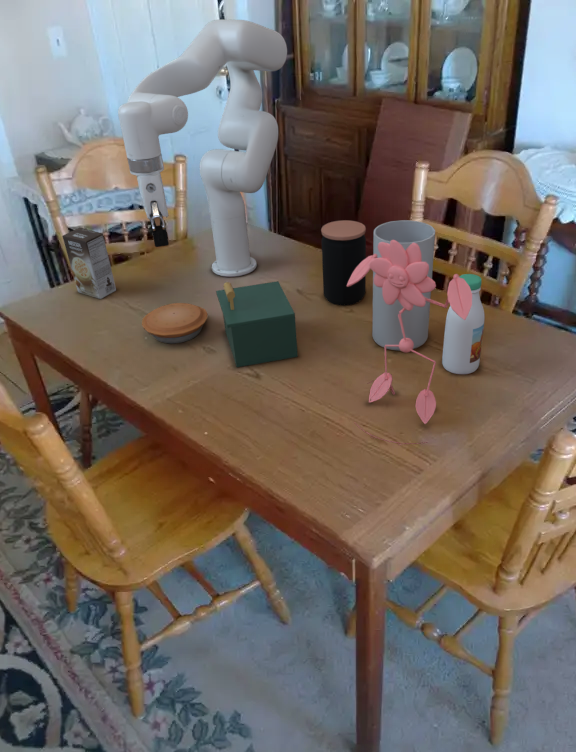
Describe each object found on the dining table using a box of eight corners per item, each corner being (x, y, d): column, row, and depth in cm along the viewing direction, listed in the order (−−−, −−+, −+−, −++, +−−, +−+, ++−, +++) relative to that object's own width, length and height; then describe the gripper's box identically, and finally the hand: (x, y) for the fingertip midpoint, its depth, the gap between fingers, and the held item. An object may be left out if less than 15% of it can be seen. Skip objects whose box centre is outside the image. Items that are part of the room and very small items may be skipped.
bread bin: (236, 367, 144) (231, 327, 138) (225, 331, 157) (219, 293, 151) (297, 356, 146) (295, 317, 140) (281, 322, 159) (278, 284, 153)
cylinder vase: (365, 348, 147) (366, 240, 132) (380, 321, 157) (382, 218, 141) (421, 355, 144) (428, 245, 128) (432, 328, 153) (440, 222, 138)
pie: (192, 352, 150) (188, 332, 147) (132, 344, 154) (128, 325, 151) (220, 320, 161) (217, 301, 158) (164, 313, 166) (160, 295, 163)
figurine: (363, 377, 138) (364, 212, 117) (472, 423, 124) (495, 244, 102) (315, 411, 129) (306, 240, 108) (426, 465, 115) (441, 279, 94)
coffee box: (76, 292, 178) (60, 235, 168) (94, 283, 182) (79, 226, 172) (100, 299, 174) (85, 241, 164) (118, 290, 178) (103, 232, 168)
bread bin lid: (227, 327, 138) (224, 305, 134) (216, 293, 151) (213, 272, 147) (295, 316, 140) (293, 294, 137) (278, 284, 153) (276, 263, 150)
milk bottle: (457, 379, 136) (466, 290, 124) (434, 362, 141) (441, 275, 129) (486, 368, 138) (498, 280, 126) (463, 352, 144) (472, 266, 132)
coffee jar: (365, 287, 171) (366, 219, 160) (364, 306, 163) (365, 236, 152) (325, 287, 173) (322, 220, 161) (322, 306, 164) (319, 237, 153)
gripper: (166, 172, 140) (179, 249, 151) (159, 151, 154) (172, 223, 164) (130, 177, 139) (146, 254, 150) (127, 155, 152) (142, 228, 163)
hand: (160, 238), depth 157 cm, fingers open, 9 cm apart
